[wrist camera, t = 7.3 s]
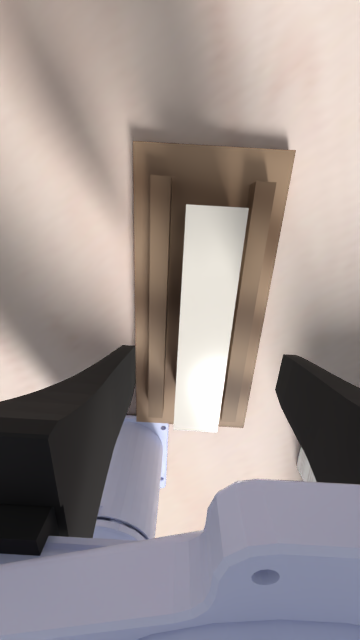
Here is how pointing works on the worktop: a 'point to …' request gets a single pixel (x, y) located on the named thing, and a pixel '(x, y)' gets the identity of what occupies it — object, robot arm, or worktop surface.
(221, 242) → the white rectangular block
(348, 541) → the robot arm
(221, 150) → the railed tan base plate
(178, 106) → the worktop surface
